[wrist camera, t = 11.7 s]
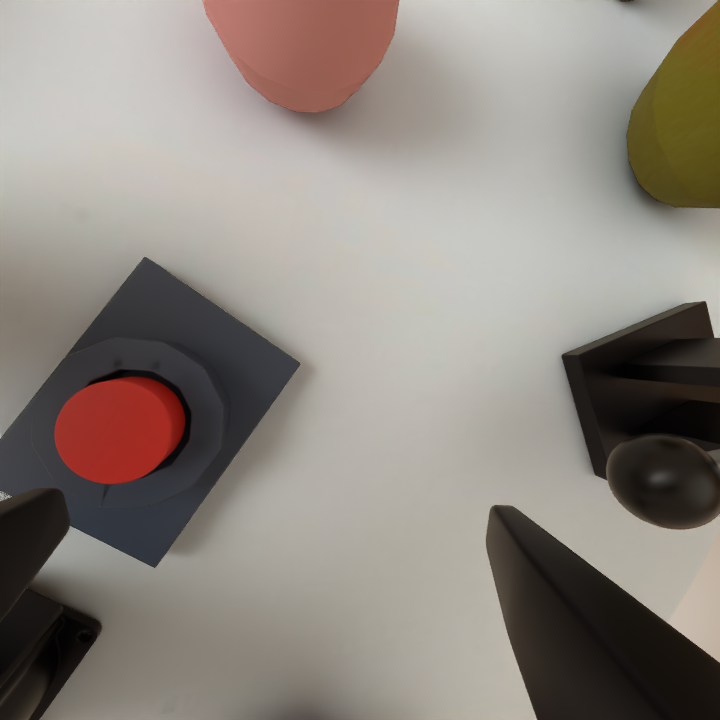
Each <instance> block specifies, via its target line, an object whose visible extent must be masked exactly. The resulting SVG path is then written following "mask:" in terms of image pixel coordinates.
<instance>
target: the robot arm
mask: <svg viewBox="0 0 720 720" xmlns="http://www.w3.org/2000/svg"><path fill="white" fill-rule="evenodd" d="M69 527H70V516H69V512H68V509H67V505H66V501H65V497H64V494H63V492H62V491H61V490H60V489H57V488H36V489H33V490H30V491H27V492H24V493H22V494H19V495H16V496H14V497H11V498H8V499H5V500H3V501H0V720H39V719H40V718H41V716H42V715H43V714H44V712H45V711H46V709H47V708H48V707H49V705H50V704H51V702H52V701H53V700H54V698H55V697H56V695H57V694H58V693H59V691H60V690H61V688H62V687H63V686H64V684H65V683H66V681H67V680H68V679H69V677H70V676H71V674H72V673H73V672H74V670H75V669H76V667H77V666H78V665H79V663H80V662H81V660H82V659H83V658H84V656H85V655H86V653H87V652H88V651H89V649H90V648H91V646H92V645H93V644H94V642H95V641H96V639H97V638H98V636H99V635H100V633H101V630H102V626H101V624H100V622H99V621H97V620H96V619H94V618H91V617H89V616H87V615H85V614H83V613H80V612H78V611H76V610H74V609H71V608H69V607H67V606H65V605H63V604H60V603H58V602H56V601H54V600H51V599H49V598H47V597H45V596H43V595H40V594H38V593H36V592H34V591H32V590H29V589H27V587H28V586H29V584H30V583H31V581H32V580H33V579H34V577H35V576H36V575H37V573H38V572H39V570H40V569H41V568H42V566H43V565H44V564H45V562H46V561H47V560H48V558H49V557H50V555H51V554H52V553H53V551H54V550H55V549H56V547H57V546H58V545H59V543H60V542H61V540H62V539H63V538H64V536H65V535H66V533H67V532H68V530H69ZM486 548H487V553H488V557H489V561H490V565H491V569H492V573H493V577H494V581H495V585H496V590H497V594H498V598H499V602H500V606H501V610H502V614H503V618H504V622H505V626H506V629H507V633H508V636H509V640H510V643H511V646H512V649H513V652H514V655H515V657H516V660H517V663H518V666H519V669H520V672H521V675H522V678H523V680H524V683H525V686H526V689H527V692H528V695H529V698H530V700H531V703H532V706H533V709H534V712H535V715H536V718H537V720H720V663H719V662H718V661H717V660H715V659H714V658H713V657H711V656H710V655H709V654H707V653H706V652H705V651H704V650H702V649H701V648H699V647H698V646H697V645H696V644H694V643H693V642H691V641H690V640H689V639H687V638H686V637H685V636H684V635H682V634H681V633H679V632H678V631H677V630H676V629H674V628H673V627H672V626H671V625H669V624H668V623H667V622H665V621H664V620H663V619H661V618H660V617H659V616H657V615H656V614H655V613H653V612H652V611H651V610H649V609H648V608H647V607H646V606H644V605H643V604H642V603H640V602H639V601H638V600H636V599H635V598H634V597H632V596H631V595H630V594H628V593H627V592H626V591H624V590H623V589H622V588H620V587H619V586H618V585H617V584H615V583H614V582H613V581H611V580H610V579H609V578H607V577H606V576H605V575H603V574H602V573H601V572H599V571H598V570H597V569H595V568H594V567H593V566H592V565H590V564H589V563H588V562H586V561H585V560H584V559H582V558H581V557H580V556H578V555H577V554H576V553H574V552H573V551H572V550H570V549H569V548H568V547H566V546H565V545H564V544H563V543H561V542H560V541H559V540H557V539H556V538H555V537H553V536H552V535H551V534H549V533H548V532H547V531H545V530H544V529H543V528H541V527H540V526H539V525H537V524H536V523H535V522H534V521H532V520H531V519H530V518H528V517H527V516H526V515H524V514H523V513H522V512H520V511H519V510H518V509H516V508H515V507H513V506H507V505H494V506H492V507H491V509H490V513H489V520H488V527H487V534H486ZM83 631H88V632H89V633H90V634H91V635H85V634H84V633H83Z"/></svg>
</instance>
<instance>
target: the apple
mask: <svg viewBox="0 0 720 720" xmlns="http://www.w3.org/2000/svg"><path fill="white" fill-rule="evenodd" d="M627 145H628V155H629V163H630V165H631V167H632V169H633V172H634V174H635V176H636V178H637V180H638V183H639V185H640V186H641V187H642V188H644V189H645V190H646V191H647V192H648V193H649V194H650V195H651V196H652V197H654V198H655V199H656V200H657V201H660V202H663V203H665V204H668V205H670V206H673V207H681V208H720V0H718V1H717V2H716V3H715V4H714V5H713V6H712V7H711V8H710V9H709V10H708V11H707V12H706V13H705V14H704V15H703V16H702V17H701V18H700V19H698V20H697V21H696V22H695V23H694V24H693V25H692V26H691V27H690V28H689V29H688V30H687V31H686V32H685V33H684V34H683V35H682V36H681V37H680V38H679V39H678V40H677V41H676V43H675V44H674V46H673V47H672V49H671V50H670V52H669V53H668V55H667V56H666V57H665V59H664V60H663V62H662V63H661V65H660V66H659V68H658V69H657V71H656V72H655V74H654V75H653V77H652V78H651V79H650V81H649V82H648V84H647V85H646V87H645V88H644V90H643V91H642V93H641V95H640V97H639V98H638V100H637V102H636V104H635V106H634V107H633V109H632V111H631V116H630V121H629V126H628V131H627Z"/></svg>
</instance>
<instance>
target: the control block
mask: <svg viewBox="0 0 720 720" xmlns="http://www.w3.org/2000/svg"><path fill="white" fill-rule="evenodd" d="M299 365H300V363H299V362H298V361H297V360H295V359H294V358H292V357H291V356H289V355H288V354H286V353H285V352H283V351H282V350H281V349H279V348H278V347H276V346H275V345H273V344H272V343H270V342H269V341H268V340H266V339H265V338H263V337H262V336H260V335H259V334H257V333H256V332H254V331H253V330H252V329H250V328H249V327H247V326H246V325H244V324H243V323H241V322H240V321H239V320H237V319H236V318H234V317H233V316H231V315H230V314H228V313H227V312H225V311H224V310H223V309H221V308H220V307H218V306H217V305H215V304H214V303H212V302H211V301H210V300H208V299H207V298H205V297H204V296H202V295H201V294H199V293H198V292H196V291H195V290H194V289H192V288H191V287H189V286H188V285H186V284H185V283H183V282H182V281H181V280H179V279H178V278H176V277H175V276H173V275H172V274H170V273H169V272H167V271H166V270H165V269H163V268H162V267H160V266H159V265H157V264H156V263H154V262H153V261H151V260H150V259H148V258H147V257H144V258H143V260H142V261H141V262H140V263H139V265H138V266H137V267H136V268H135V270H134V271H133V272H132V273H131V275H130V276H129V277H128V278H127V280H126V281H125V282H124V284H123V285H122V286H121V287H120V289H119V290H118V291H117V292H116V294H115V295H114V296H113V297H112V299H111V300H110V301H109V302H108V304H107V305H106V306H105V308H104V309H103V310H102V311H101V313H100V314H99V315H98V316H97V318H96V319H95V320H94V321H93V323H92V324H91V325H90V326H89V328H88V329H87V330H86V332H85V333H84V334H83V335H82V337H81V338H80V339H79V340H78V342H77V343H76V344H75V345H74V347H73V348H72V349H71V350H70V352H69V353H68V354H67V356H66V357H65V358H64V359H63V360H62V362H61V363H60V364H59V365H58V367H57V368H56V369H55V371H54V372H53V373H52V374H51V376H50V377H49V378H48V379H47V381H46V382H45V383H44V384H43V386H42V387H41V388H40V389H39V391H38V392H37V393H36V395H35V396H34V397H33V398H32V400H31V401H30V402H29V404H28V405H27V406H26V407H25V409H24V410H23V411H22V412H21V414H20V415H19V416H18V417H17V419H16V420H15V421H14V422H13V424H12V425H11V426H10V428H9V429H8V430H7V431H6V433H5V434H4V435H3V436H2V438H1V439H0V491H2V492H4V493H6V494H8V495H10V496H12V497H14V496H16V495H19V494H22V493H24V492H27V491H30V490H33V489H36V488H57V489H60V490H61V491H62V492H63V494H64V497H65V501H66V505H67V509H68V512H69V516H70V526H72V527H74V528H76V529H78V530H80V531H82V532H84V533H86V534H88V535H90V536H92V537H94V538H96V539H98V540H100V541H102V542H104V543H106V544H108V545H110V546H112V547H114V548H116V549H118V550H120V551H122V552H124V553H126V554H128V555H130V556H132V557H134V558H136V559H138V560H140V561H142V562H144V563H146V564H148V565H150V566H152V567H154V568H155V567H156V566H157V565H158V563H159V562H160V561H161V559H162V558H163V556H164V555H165V554H166V552H167V551H168V549H169V548H170V547H171V545H172V544H173V542H174V541H175V540H176V538H177V537H178V535H179V534H180V533H181V531H182V530H183V528H184V527H185V526H186V524H187V523H188V521H189V520H190V519H191V517H192V516H193V514H194V513H195V512H196V510H197V509H198V507H199V506H200V504H201V503H202V502H203V500H204V499H205V497H206V496H207V495H208V493H209V492H210V490H211V489H212V488H213V486H214V485H215V483H216V482H217V481H218V479H219V478H220V476H221V475H222V474H223V472H224V471H225V469H226V468H227V467H228V465H229V464H230V462H231V461H232V460H233V458H234V457H235V455H236V454H237V452H238V451H239V450H240V448H241V447H242V445H243V444H244V443H245V441H246V440H247V438H248V437H249V436H250V434H251V433H252V431H253V430H254V429H255V427H256V426H257V424H258V423H259V422H260V420H261V419H262V417H263V416H264V415H265V413H266V412H267V410H268V409H269V408H270V406H271V405H272V403H273V402H274V401H275V399H276V398H277V396H278V395H279V393H280V392H281V391H282V389H283V388H284V386H285V385H286V384H287V382H288V381H289V379H290V378H291V377H292V375H293V374H294V372H295V371H296V370H297V368H298V367H299ZM124 377H146V378H150V379H153V380H156V381H158V382H160V383H162V384H164V385H165V386H167V387H168V388H170V389H171V390H172V391H173V392H174V393H175V395H176V396H177V397H178V399H179V400H180V402H181V404H182V406H183V409H184V413H185V429H184V433H183V436H182V438H181V441H180V442H179V444H178V446H177V447H176V448H175V449H174V451H173V452H172V453H171V454H170V455H168V456H167V457H166V458H165V459H164V460H163V461H162V462H161V463H160V464H159V465H158V466H157V467H156V468H155V469H153V470H152V471H151V472H149V473H148V474H146V475H145V476H143V477H141V478H139V479H136V480H134V481H130V482H127V483H121V484H102V483H97V482H93V481H90V480H87V479H85V478H83V477H81V476H79V475H78V474H76V473H75V472H73V471H72V470H71V469H70V468H69V467H68V466H67V465H66V464H65V463H64V461H63V460H62V458H61V457H60V455H59V453H58V451H57V447H56V444H55V424H56V421H57V418H58V415H59V413H60V411H61V409H62V408H63V406H64V405H65V404H66V402H67V401H68V400H69V399H70V398H71V397H72V396H73V395H75V394H76V393H77V392H79V391H80V390H82V389H83V388H86V387H88V386H90V385H92V384H95V383H99V382H103V381H108V380H114V379H119V378H124Z"/></svg>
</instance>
